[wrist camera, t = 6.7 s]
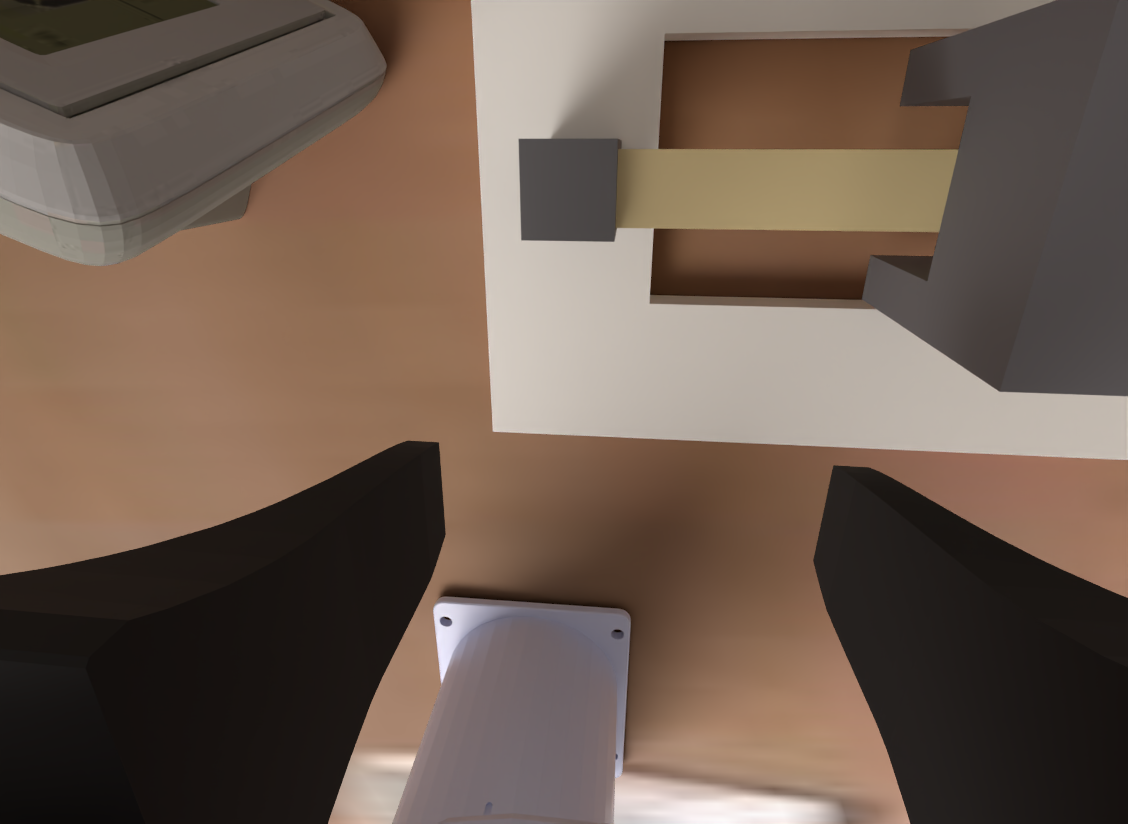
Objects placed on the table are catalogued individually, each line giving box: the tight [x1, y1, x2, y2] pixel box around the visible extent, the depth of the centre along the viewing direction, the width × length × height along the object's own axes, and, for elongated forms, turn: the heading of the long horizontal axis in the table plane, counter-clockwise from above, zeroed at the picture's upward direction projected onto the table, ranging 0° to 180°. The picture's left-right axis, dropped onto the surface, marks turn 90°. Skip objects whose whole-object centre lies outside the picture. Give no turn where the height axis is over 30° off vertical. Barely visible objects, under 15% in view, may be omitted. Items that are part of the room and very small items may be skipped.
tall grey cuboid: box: [862, 0, 1128, 396], centre depth 13 cm, size 6×2×7 cm, turn 0°
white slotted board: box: [471, 0, 1128, 460], centre depth 15 cm, size 14×20×6 cm
